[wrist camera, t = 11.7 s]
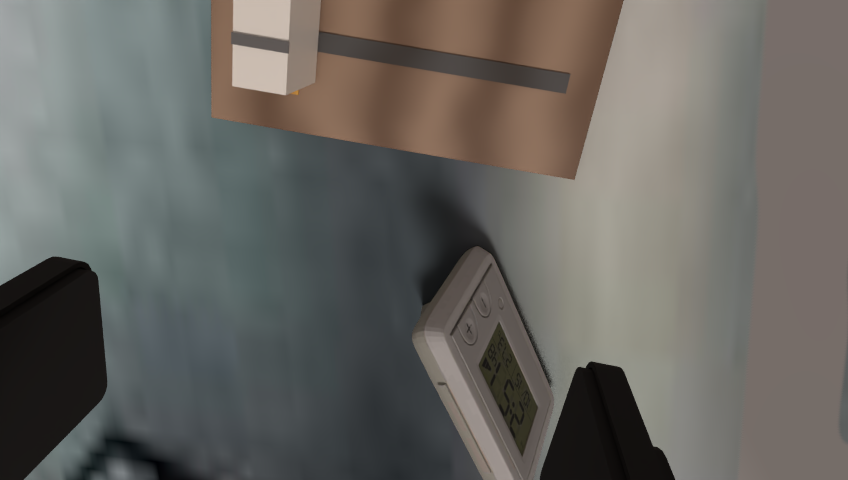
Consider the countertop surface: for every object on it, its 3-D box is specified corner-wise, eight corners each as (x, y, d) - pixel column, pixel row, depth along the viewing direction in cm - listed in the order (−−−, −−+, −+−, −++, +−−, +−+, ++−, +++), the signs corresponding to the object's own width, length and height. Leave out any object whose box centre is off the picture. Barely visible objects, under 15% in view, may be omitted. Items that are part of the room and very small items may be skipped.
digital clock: (554, 405, 46) (576, 510, 37) (451, 418, 48) (445, 522, 38) (525, 232, 41) (542, 301, 31) (408, 252, 42) (389, 325, 32)
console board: (619, -14, 34) (628, -15, 32) (569, 171, 38) (574, 180, 36) (225, -79, 34) (210, -85, 32) (223, 112, 39) (210, 117, 37)
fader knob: (321, -1, 33) (291, -4, 28) (315, 82, 35) (286, 95, 30) (272, -9, 33) (231, -14, 28) (269, 74, 35) (230, 86, 30)
